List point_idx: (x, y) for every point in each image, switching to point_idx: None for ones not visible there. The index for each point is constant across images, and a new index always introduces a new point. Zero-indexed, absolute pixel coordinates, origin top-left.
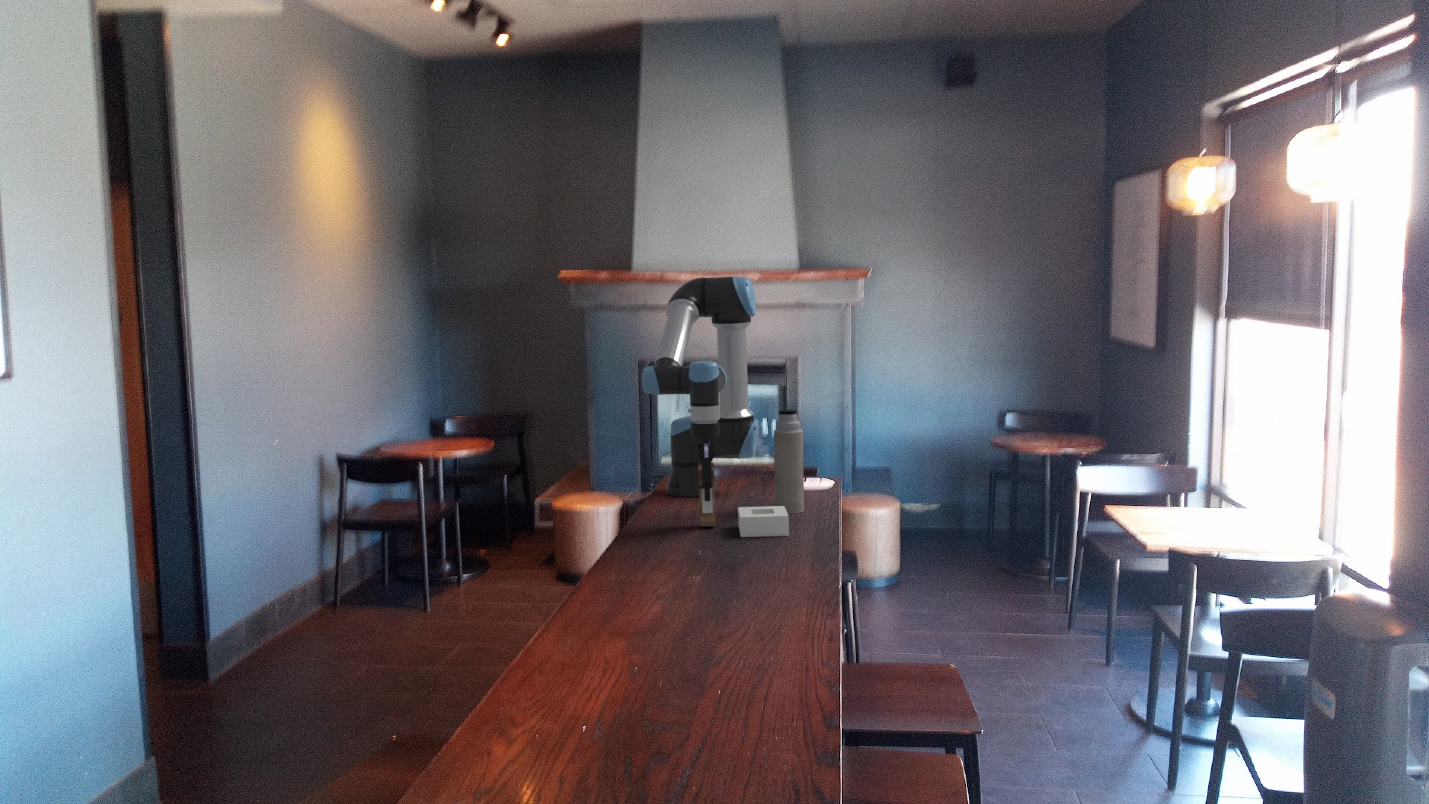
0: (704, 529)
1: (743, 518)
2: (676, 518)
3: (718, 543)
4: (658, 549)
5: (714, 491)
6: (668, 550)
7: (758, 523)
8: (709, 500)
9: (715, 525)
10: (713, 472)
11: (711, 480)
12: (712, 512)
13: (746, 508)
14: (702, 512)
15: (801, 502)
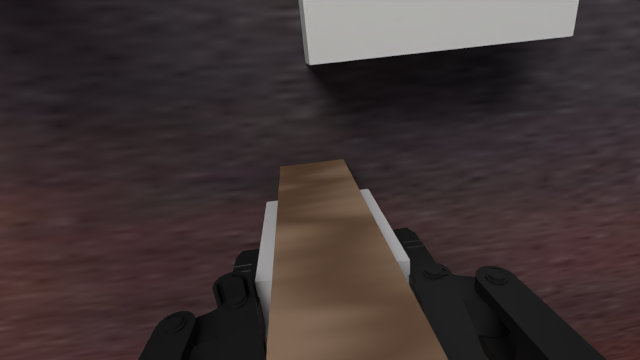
0: None
1: (571, 17)
2: (178, 306)
3: (577, 124)
4: (592, 289)
5: (380, 233)
6: (613, 263)
7: None
8: (407, 232)
9: (342, 160)
10: (436, 347)
11: (545, 304)
12: (368, 191)
13: (346, 7)
14: None
15: None
